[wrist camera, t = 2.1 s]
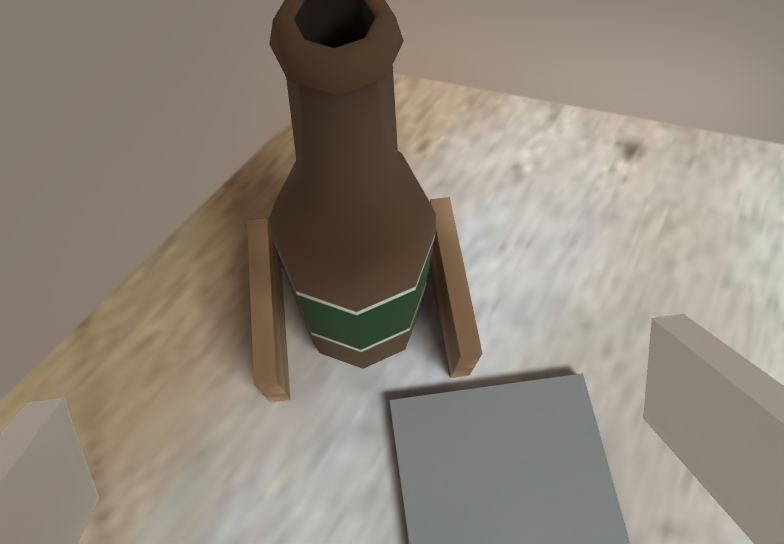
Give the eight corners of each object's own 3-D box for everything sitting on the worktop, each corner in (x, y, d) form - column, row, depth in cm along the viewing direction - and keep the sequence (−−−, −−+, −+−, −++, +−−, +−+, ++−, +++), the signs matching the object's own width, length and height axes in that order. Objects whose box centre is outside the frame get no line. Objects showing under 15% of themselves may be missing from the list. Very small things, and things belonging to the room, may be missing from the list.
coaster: (578, 376, 36) (582, 373, 35) (637, 592, 31) (643, 593, 30) (389, 402, 35) (389, 399, 34) (420, 628, 30) (421, 631, 30)
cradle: (438, 219, 40) (446, 180, 36) (469, 375, 36) (482, 353, 31) (261, 240, 39) (245, 202, 35) (270, 402, 35) (253, 384, 30)
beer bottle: (417, 257, 39) (463, -86, 17) (425, 368, 36) (494, 125, 14) (302, 261, 39) (200, -81, 17) (301, 374, 36) (172, 134, 14)
